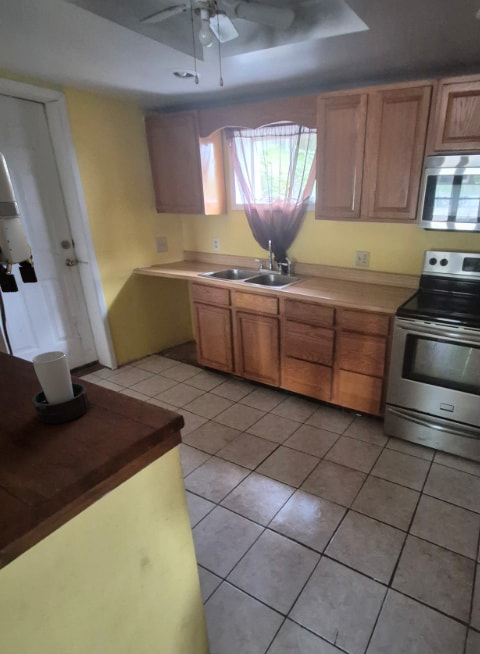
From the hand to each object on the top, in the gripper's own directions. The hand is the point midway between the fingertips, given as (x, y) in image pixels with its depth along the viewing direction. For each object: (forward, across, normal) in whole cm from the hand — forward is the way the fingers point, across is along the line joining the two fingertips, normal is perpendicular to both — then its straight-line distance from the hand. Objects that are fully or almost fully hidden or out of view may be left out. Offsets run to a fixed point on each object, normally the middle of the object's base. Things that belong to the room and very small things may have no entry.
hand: (21, 287), depth 89 cm
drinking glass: (+30, +9, +6) cm, 32 cm away
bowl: (+30, +9, +6) cm, 32 cm away
